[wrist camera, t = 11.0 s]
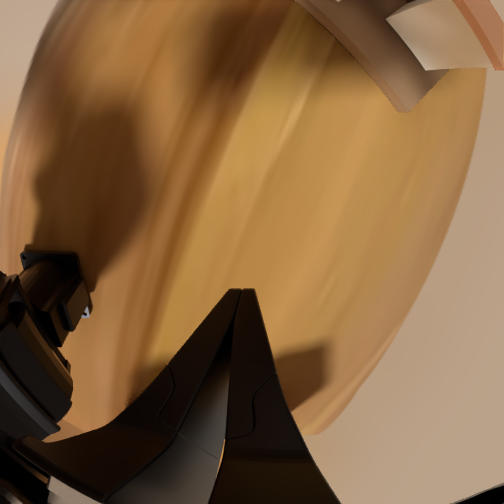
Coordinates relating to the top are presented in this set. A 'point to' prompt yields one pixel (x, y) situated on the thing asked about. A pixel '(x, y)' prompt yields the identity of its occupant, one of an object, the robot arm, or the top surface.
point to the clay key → (452, 33)
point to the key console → (377, 46)
